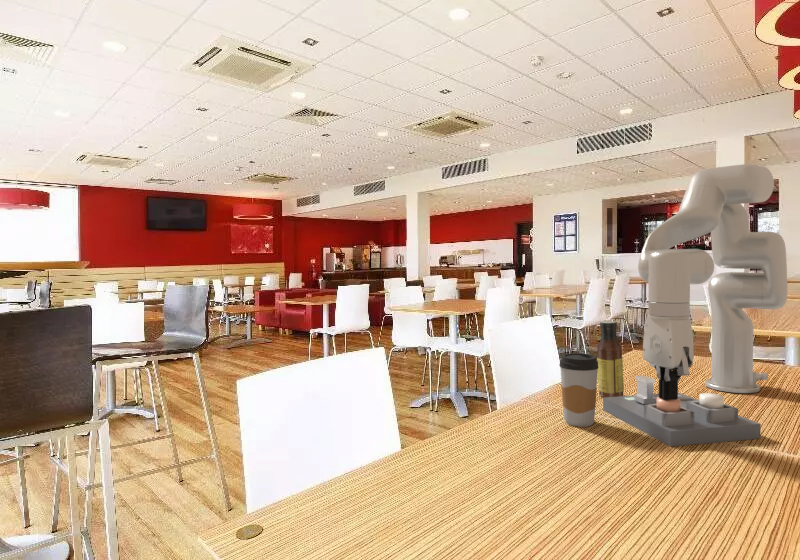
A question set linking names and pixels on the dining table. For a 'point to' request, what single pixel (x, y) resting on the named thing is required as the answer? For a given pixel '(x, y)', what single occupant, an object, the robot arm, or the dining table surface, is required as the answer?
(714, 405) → the offwhite button
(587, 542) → the dining table surface
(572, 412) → the coffee cup
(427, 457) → the dining table surface
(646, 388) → the slider knob
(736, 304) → the robot arm
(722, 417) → the control panel
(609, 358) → the sauce bottle
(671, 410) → the terracotta button
